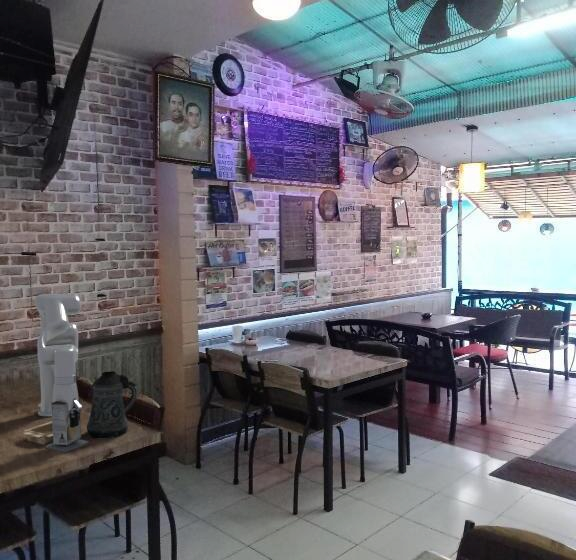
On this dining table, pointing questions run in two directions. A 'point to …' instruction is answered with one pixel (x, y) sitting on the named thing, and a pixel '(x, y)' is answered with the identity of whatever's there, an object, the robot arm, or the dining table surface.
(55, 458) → the dining table surface
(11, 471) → the dining table surface
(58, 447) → the trivet
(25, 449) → the dining table surface
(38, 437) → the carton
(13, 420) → the dining table surface
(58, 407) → the coffee box
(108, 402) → the beer stein
